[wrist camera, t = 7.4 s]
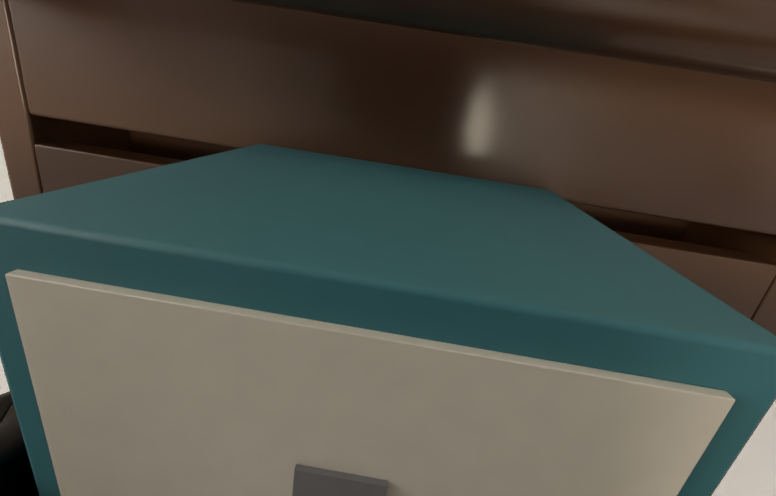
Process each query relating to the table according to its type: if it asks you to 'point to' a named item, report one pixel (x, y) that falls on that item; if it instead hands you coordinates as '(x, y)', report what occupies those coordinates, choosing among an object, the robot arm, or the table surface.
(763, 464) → the table surface
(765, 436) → the table surface
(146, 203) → the tissue box
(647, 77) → the rack
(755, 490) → the table surface
